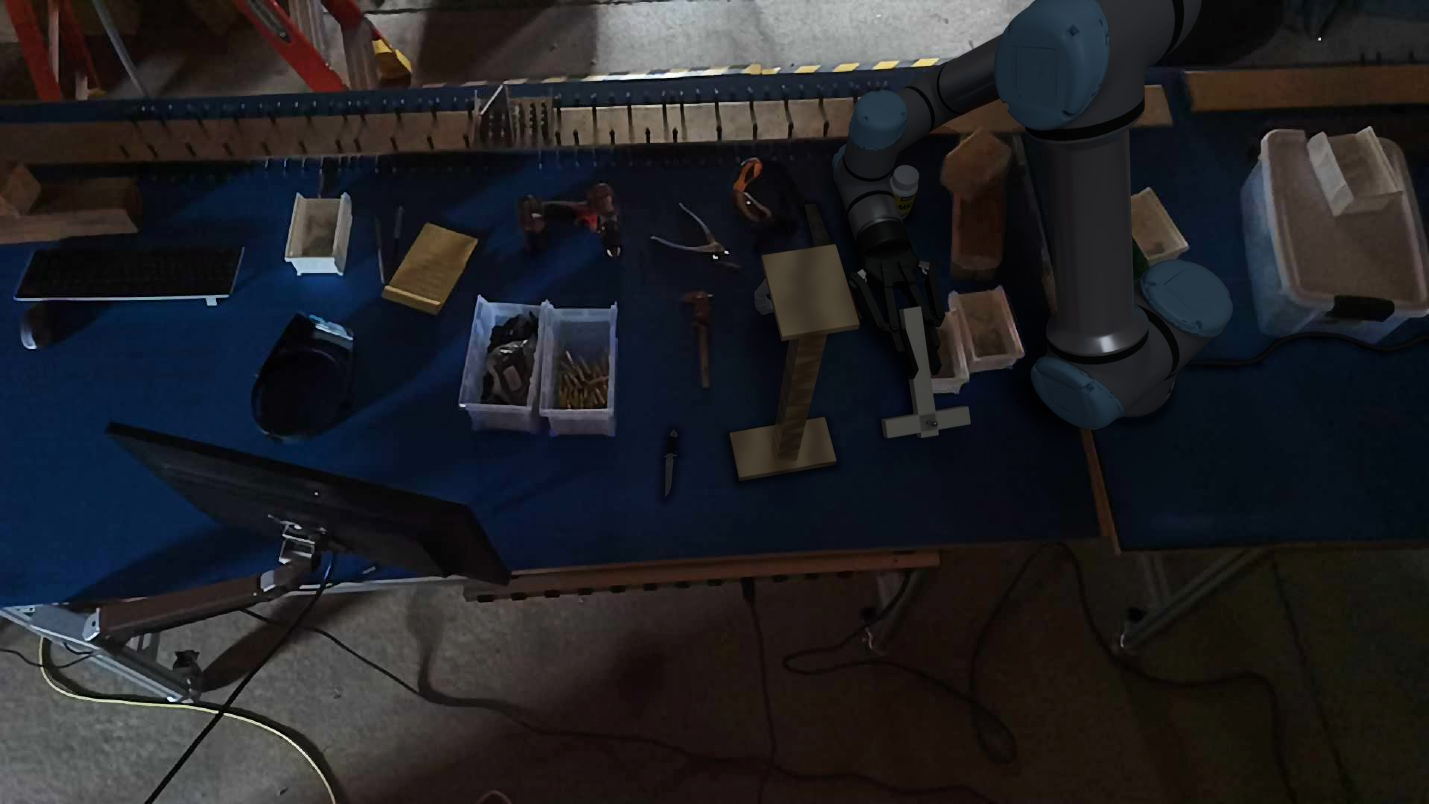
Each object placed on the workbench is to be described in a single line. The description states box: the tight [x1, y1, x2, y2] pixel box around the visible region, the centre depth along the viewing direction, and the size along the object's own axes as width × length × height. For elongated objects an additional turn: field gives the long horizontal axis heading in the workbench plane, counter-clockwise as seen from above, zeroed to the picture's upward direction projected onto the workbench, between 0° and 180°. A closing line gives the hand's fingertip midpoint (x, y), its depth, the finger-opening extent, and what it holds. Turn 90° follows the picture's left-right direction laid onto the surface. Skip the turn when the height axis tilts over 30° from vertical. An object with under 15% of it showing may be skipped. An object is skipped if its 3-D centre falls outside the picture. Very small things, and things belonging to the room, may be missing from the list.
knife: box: [663, 429, 679, 498], centre depth 122 cm, size 10×2×1 cm, turn 170°
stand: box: [729, 243, 861, 482], centre depth 106 cm, size 14×10×40 cm
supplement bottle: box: [890, 164, 920, 220], centre depth 139 cm, size 5×5×8 cm
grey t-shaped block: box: [880, 306, 971, 439], centre depth 118 cm, size 12×18×5 cm, turn 10°
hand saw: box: [803, 203, 863, 321], centre depth 138 cm, size 24×5×1 cm, turn 15°
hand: (925, 372), depth 117 cm, fingers closed on grey t-shaped block, 2 cm apart
